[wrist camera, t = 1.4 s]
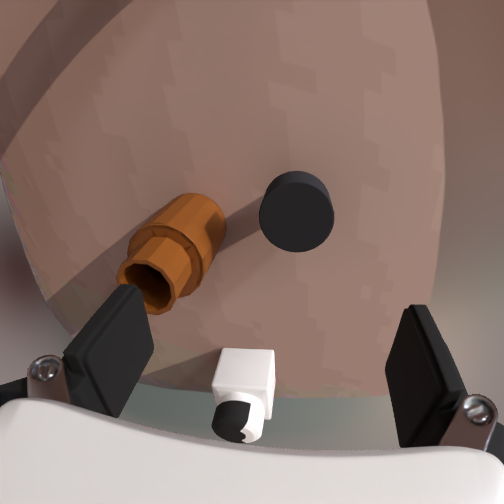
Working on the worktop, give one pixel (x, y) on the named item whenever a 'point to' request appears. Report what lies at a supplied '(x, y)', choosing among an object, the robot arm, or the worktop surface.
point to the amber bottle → (173, 251)
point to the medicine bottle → (243, 393)
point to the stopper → (296, 212)
